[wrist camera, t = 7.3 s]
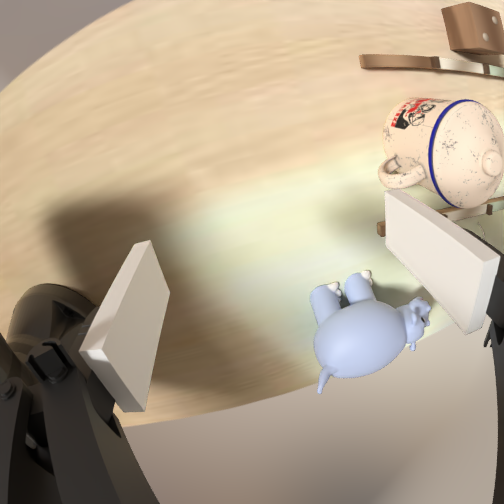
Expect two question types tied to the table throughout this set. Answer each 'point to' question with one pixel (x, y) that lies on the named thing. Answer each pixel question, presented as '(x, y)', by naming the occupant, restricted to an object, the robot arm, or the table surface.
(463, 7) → the die
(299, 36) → the table surface
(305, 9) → the table surface
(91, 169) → the table surface
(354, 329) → the hippopotamus toy
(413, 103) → the teacup with lid
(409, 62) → the track
